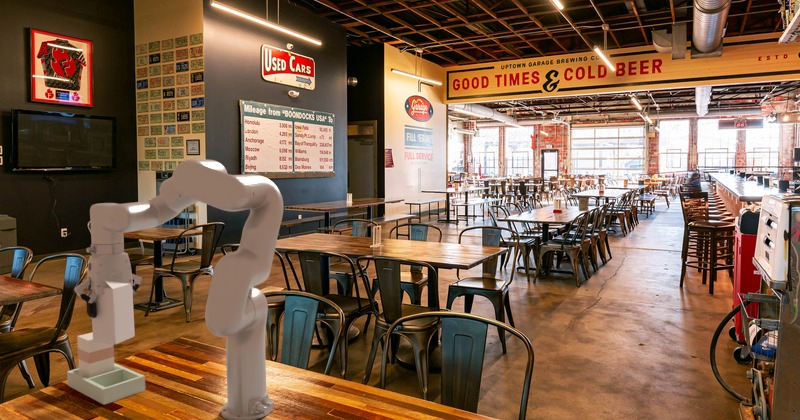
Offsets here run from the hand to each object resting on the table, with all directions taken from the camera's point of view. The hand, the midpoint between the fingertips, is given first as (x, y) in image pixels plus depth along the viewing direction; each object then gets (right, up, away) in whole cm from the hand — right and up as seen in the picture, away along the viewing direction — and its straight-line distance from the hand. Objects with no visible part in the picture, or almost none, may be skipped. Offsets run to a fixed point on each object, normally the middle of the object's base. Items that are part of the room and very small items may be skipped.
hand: (111, 312), depth 144 cm
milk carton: (+1, -8, 0) cm, 8 cm away
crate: (-4, -23, +5) cm, 23 cm away
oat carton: (-8, -21, +8) cm, 24 cm away
